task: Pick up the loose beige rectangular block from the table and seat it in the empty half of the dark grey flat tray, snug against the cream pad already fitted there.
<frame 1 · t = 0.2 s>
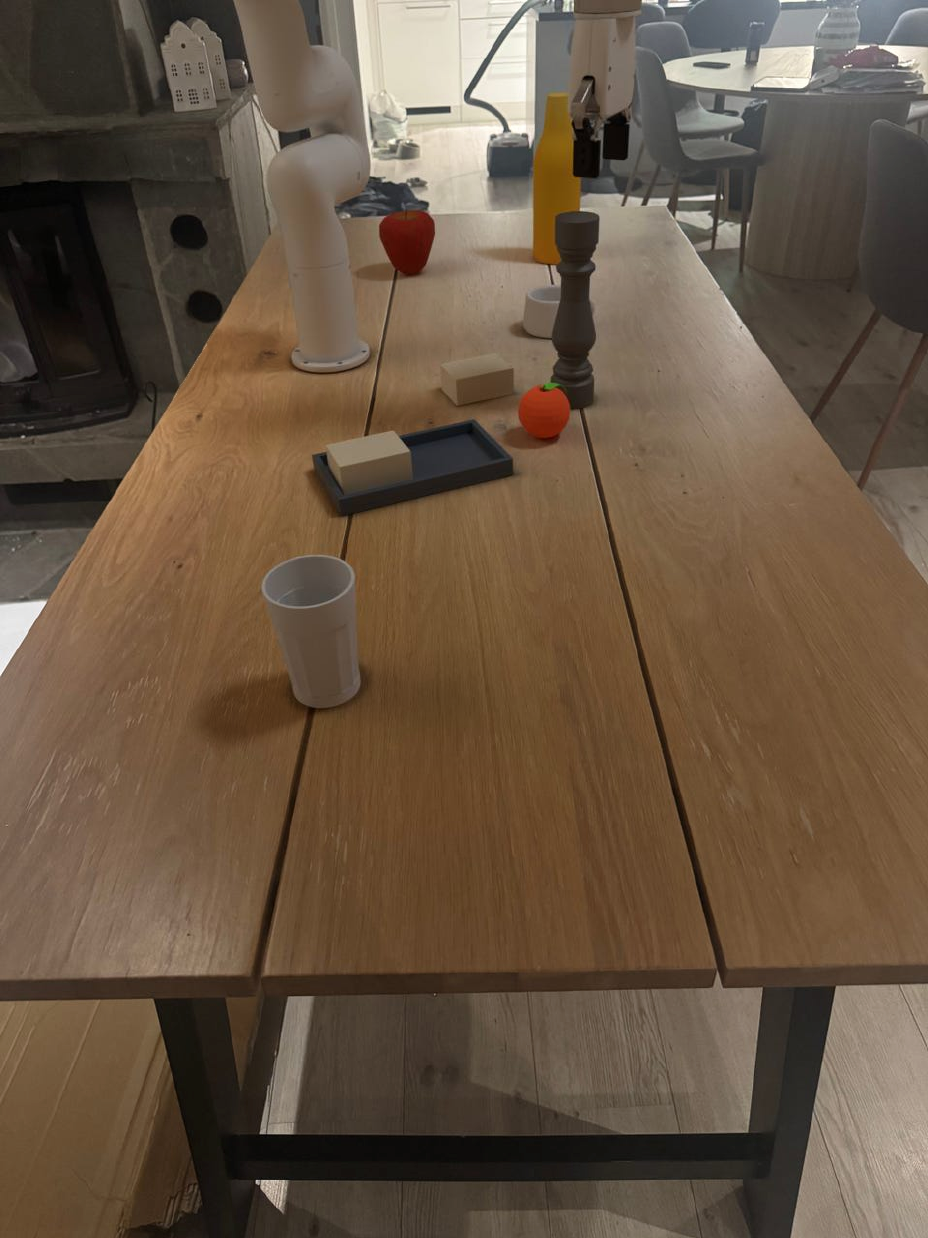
hand: (600, 167, 113), 31 cm above the table, tool pointing down, fingers open, 9 cm apart
mug: (558, 329, 156), on the table
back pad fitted: (370, 476, 116), resting on dark grey flat tray
dark grey flat tray: (412, 472, 118), on the table
apple: (410, 273, 183), on the table
beer bottle: (555, 258, 187), on the table
cup: (327, 686, 87), on the table
beige rectangular block: (477, 391, 137), on the table
clementine: (546, 435, 125), on the table
candle holder: (571, 401, 134), on the table
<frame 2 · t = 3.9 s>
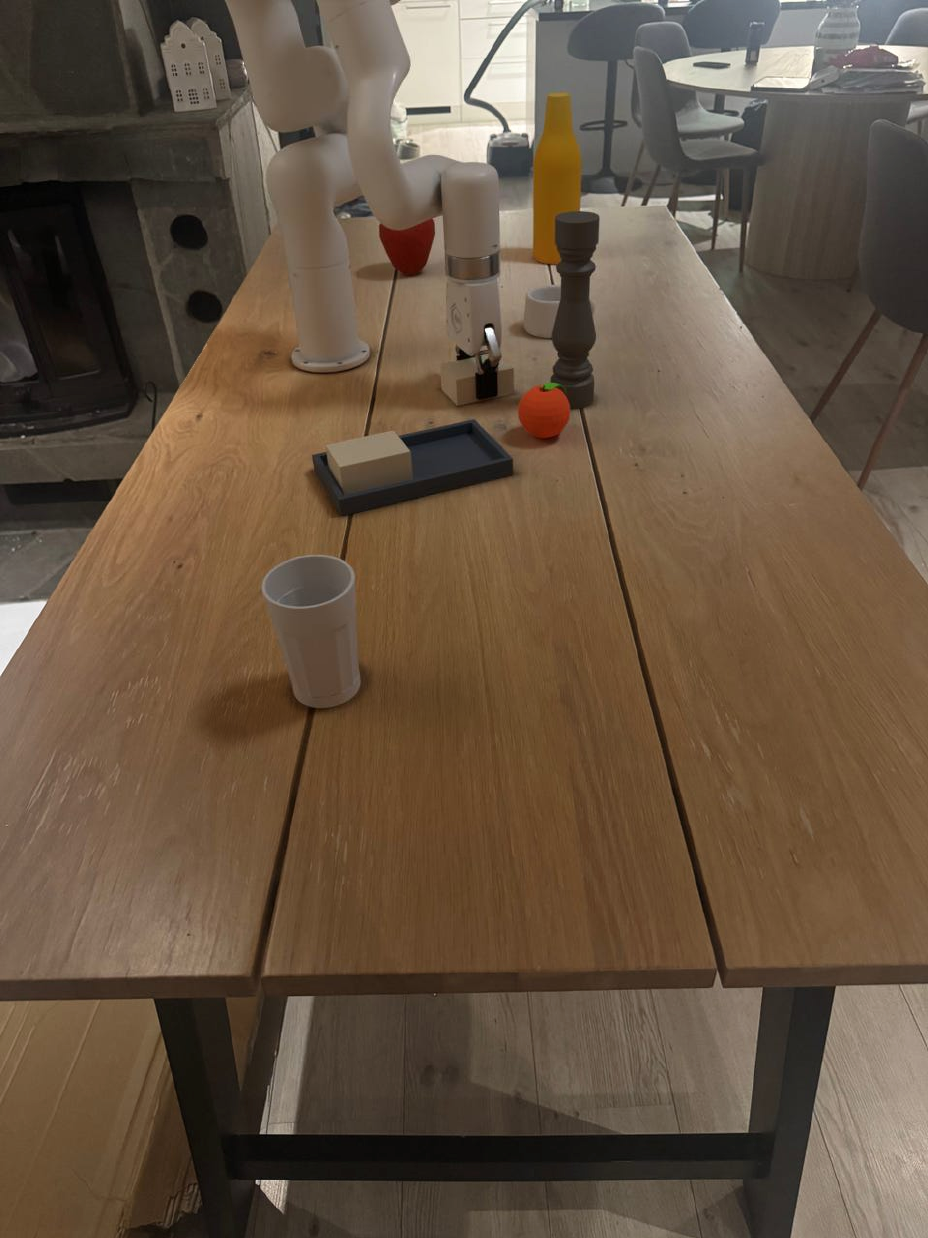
hand: (477, 387, 137), 1 cm above the table, tool pointing down, fingers closed on beige rectangular block, 6 cm apart
beige rectangular block: (477, 391, 137), on the table, touching gripper
everything else where it was.
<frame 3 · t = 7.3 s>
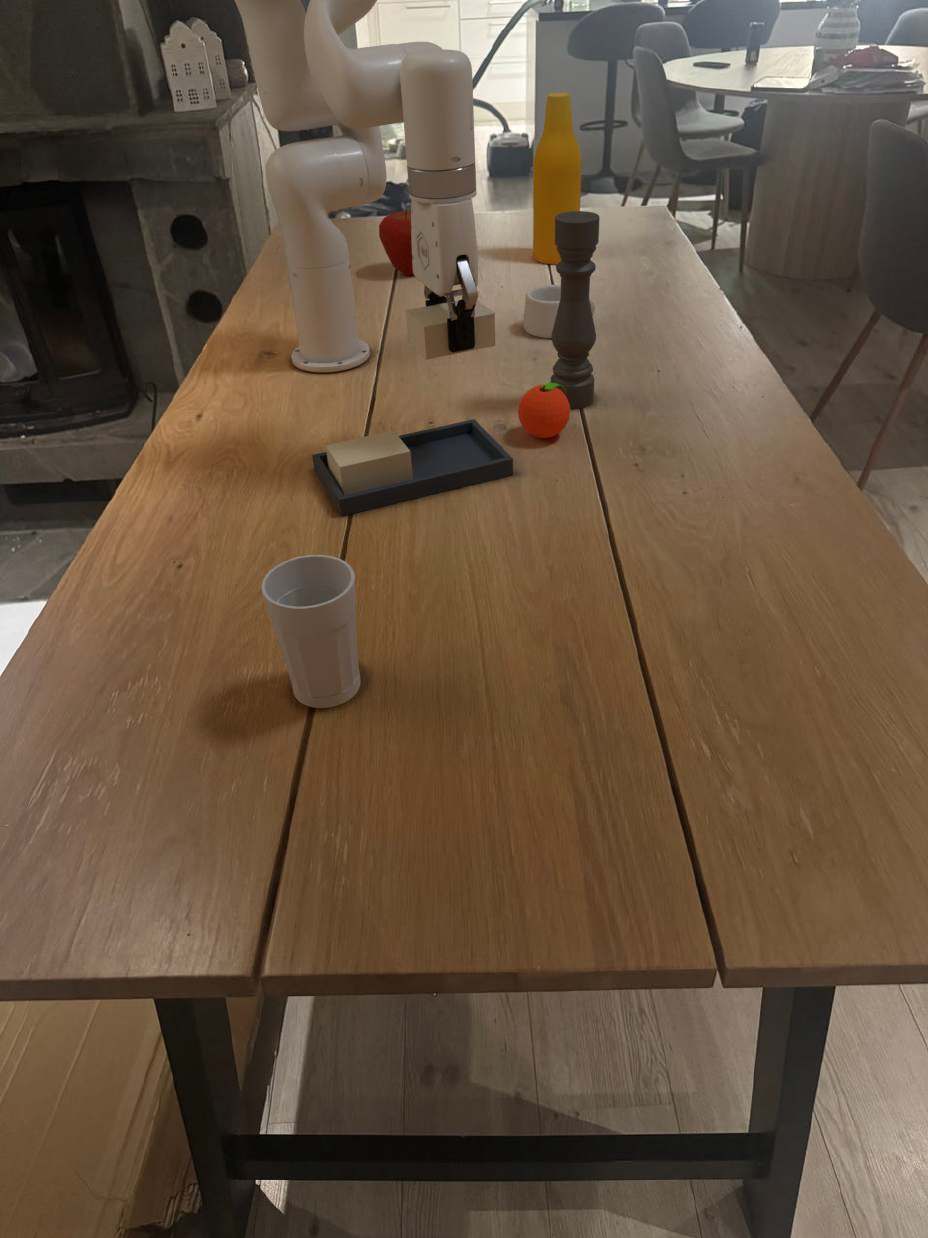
hand: (450, 338, 113), 15 cm above the table, tool pointing down, fingers closed on beige rectangular block, 6 cm apart
beige rectangular block: (451, 343, 113), point 15 cm above the table, touching gripper
everything else where it was.
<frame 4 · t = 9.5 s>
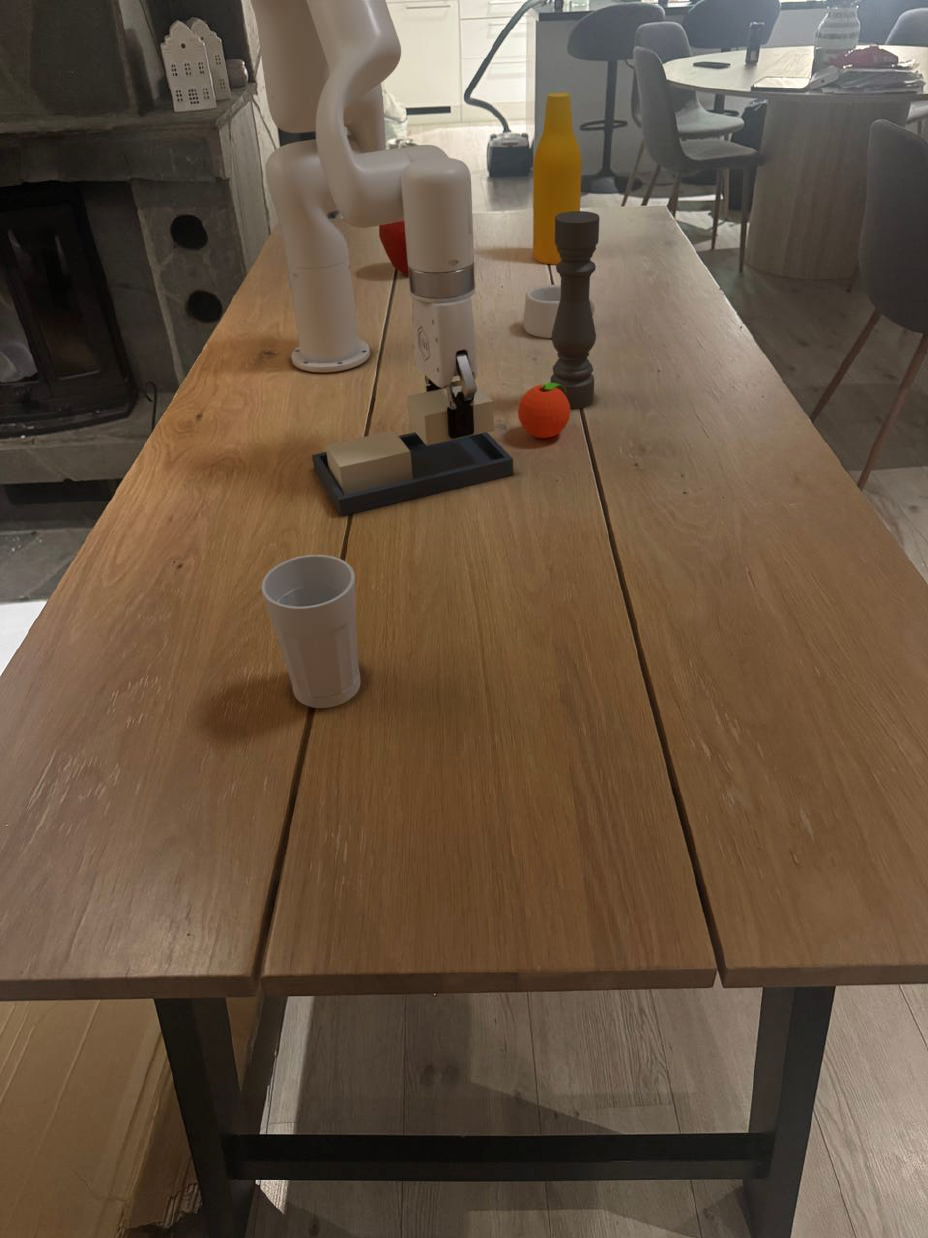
hand: (450, 423, 116), 6 cm above the table, tool pointing down, fingers closed on beige rectangular block, 6 cm apart
beige rectangular block: (451, 427, 117), point 5 cm above the table, touching gripper
everything else where it was.
when the fingers open (1 cm above the table, at t = 11.1 s): beige rectangular block stays where it is, resting on dark grey flat tray.
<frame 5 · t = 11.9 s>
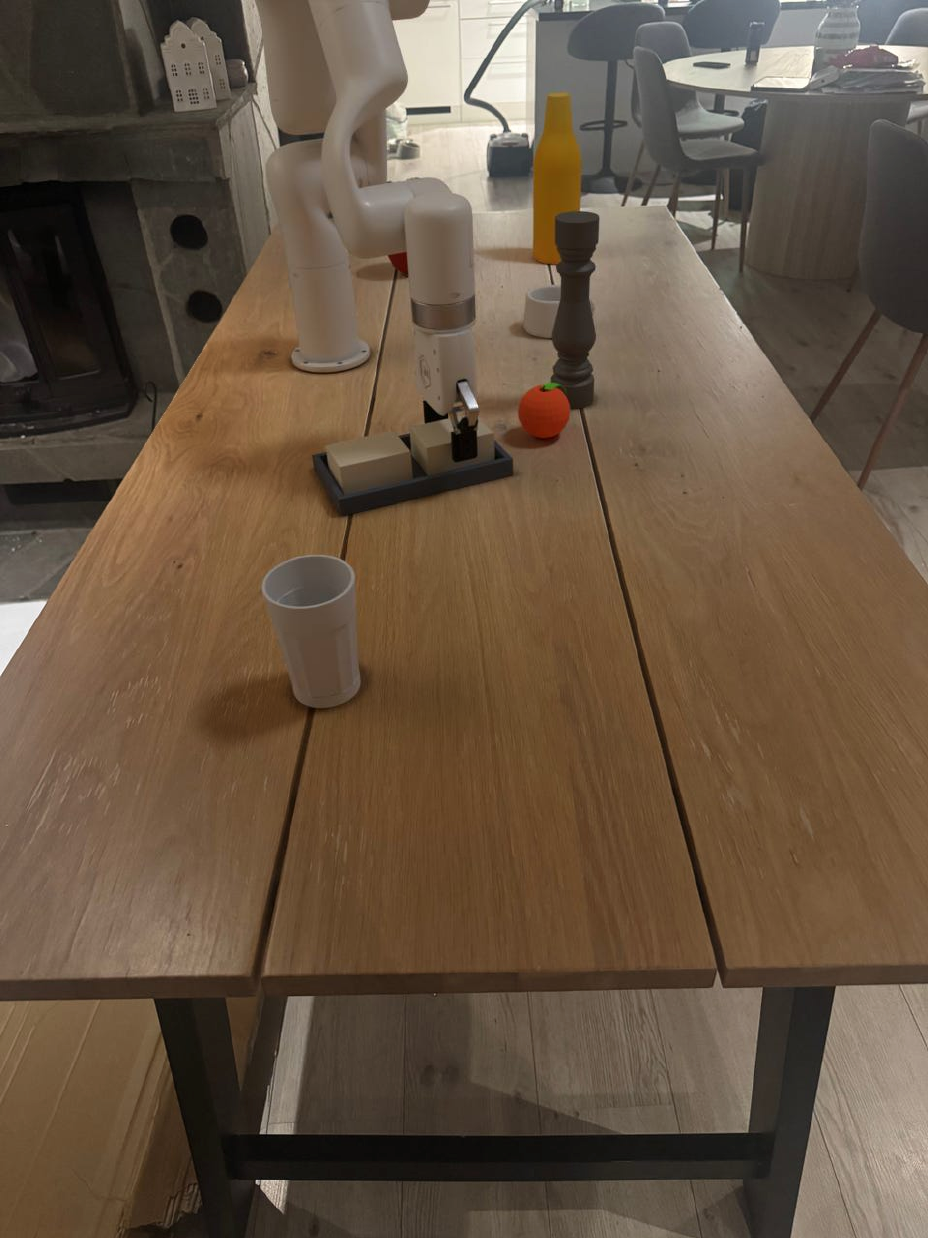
hand: (450, 442, 118), 3 cm above the table, tool pointing down, fingers open, 9 cm apart
beige rectangular block: (452, 458, 119), point 1 cm above the table, touching dark grey flat tray
everything else where it was.
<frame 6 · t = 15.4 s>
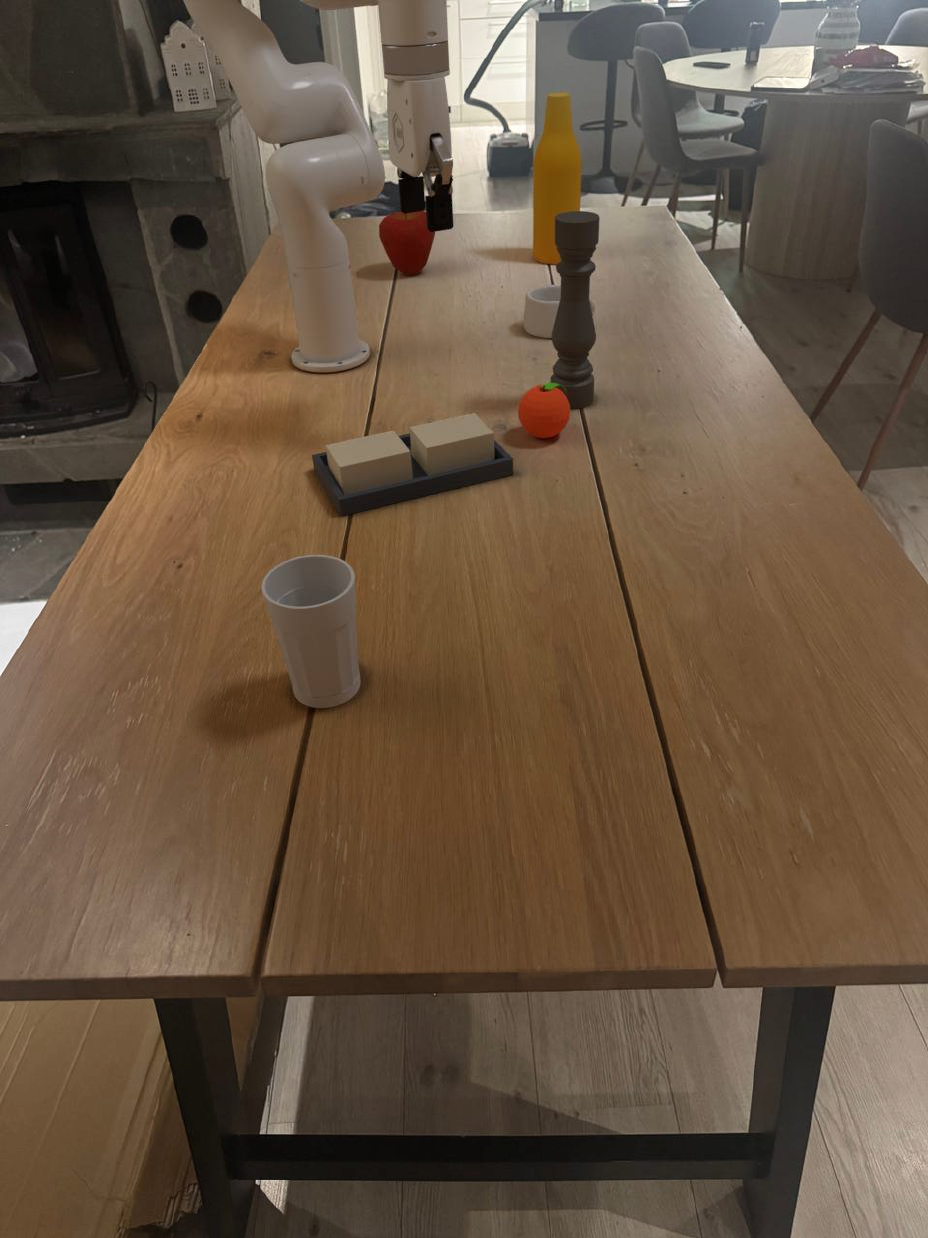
hand: (426, 220, 115), 26 cm above the table, tool pointing down, fingers open, 9 cm apart
nothing on the table moved.
at the end: beige rectangular block 0.1 cm from the target spot in the dark grey flat tray, point 0.8 cm above the dark grey flat tray's base; beige rectangular block 11.1 cm from the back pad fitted (horizontally); beige rectangular block tilted 0° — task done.
